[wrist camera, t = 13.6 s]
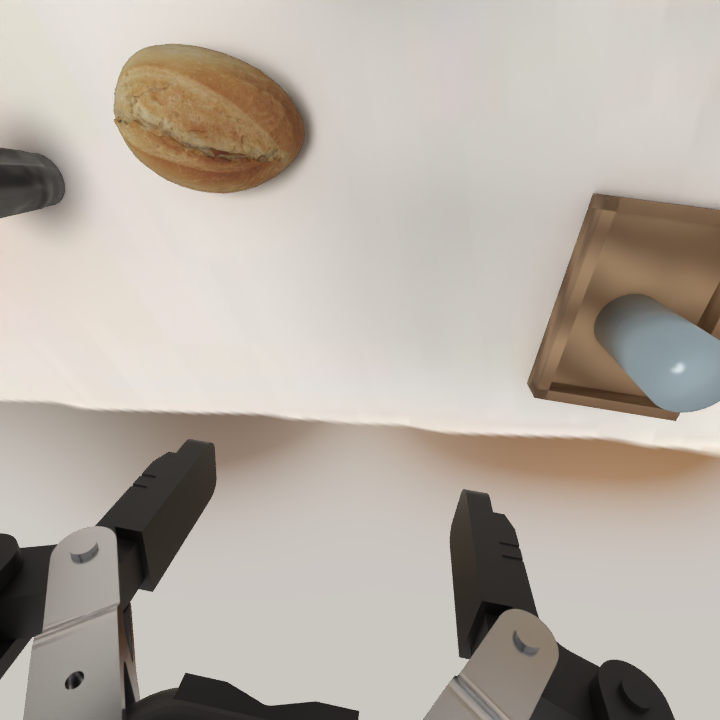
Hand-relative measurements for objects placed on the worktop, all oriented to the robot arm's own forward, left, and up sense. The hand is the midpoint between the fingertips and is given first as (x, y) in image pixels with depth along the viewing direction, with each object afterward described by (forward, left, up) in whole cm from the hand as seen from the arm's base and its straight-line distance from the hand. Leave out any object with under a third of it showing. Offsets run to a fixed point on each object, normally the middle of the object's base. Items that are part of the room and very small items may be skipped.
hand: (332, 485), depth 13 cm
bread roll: (-10, -16, -28) cm, 34 cm away
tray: (0, +22, -28) cm, 36 cm away
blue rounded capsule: (+1, +22, -27) cm, 35 cm away
